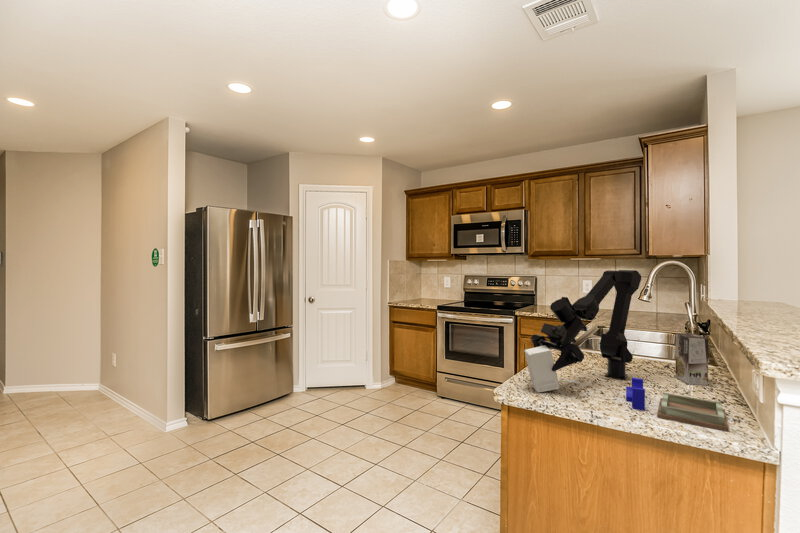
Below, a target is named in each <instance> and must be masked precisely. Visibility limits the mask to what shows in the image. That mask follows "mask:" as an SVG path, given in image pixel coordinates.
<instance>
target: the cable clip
mask: <svg viewBox="0 0 800 533" xmlns="http://www.w3.org/2000/svg"><path fill="white" fill-rule="evenodd" d="M645 397H646V389H645V388H644V379H643V378H637V377H631V386H625V401H626V402H629V403H631V408H632V410H638V411H643V412H644V411H646V410H645V408H646V407H645V406H646V401H645V400H646V398H645Z"/></svg>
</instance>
